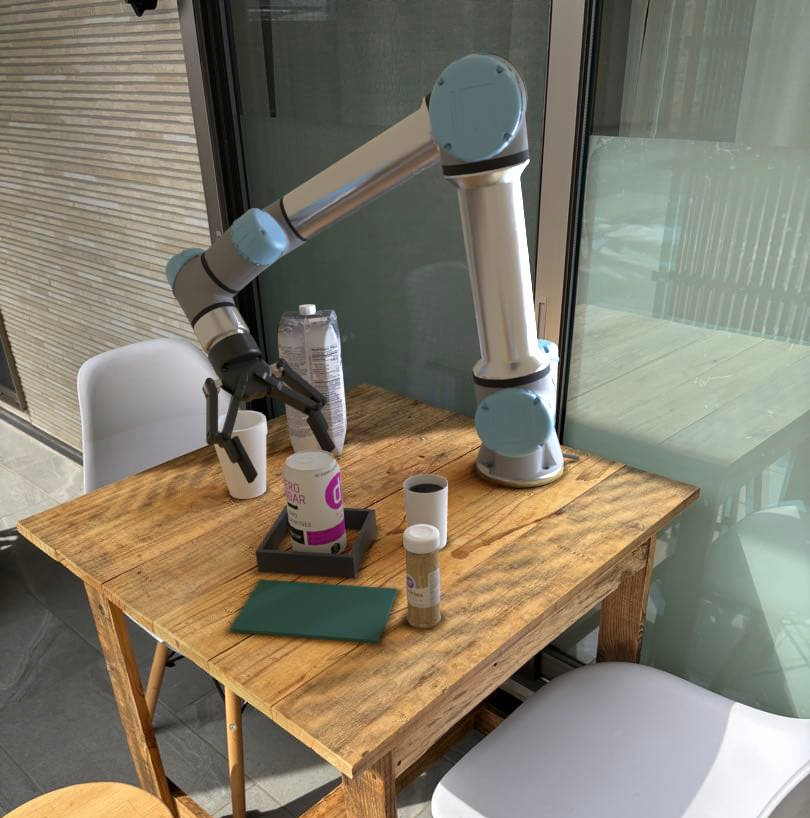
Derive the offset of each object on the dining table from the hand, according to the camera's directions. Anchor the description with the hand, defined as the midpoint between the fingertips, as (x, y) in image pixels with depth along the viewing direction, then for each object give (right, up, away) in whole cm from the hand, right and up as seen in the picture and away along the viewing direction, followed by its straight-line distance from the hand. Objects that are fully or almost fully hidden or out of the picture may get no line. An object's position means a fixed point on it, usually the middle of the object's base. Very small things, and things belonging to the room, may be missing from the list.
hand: (293, 465), depth 126 cm
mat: (+5, -21, -11) cm, 24 cm away
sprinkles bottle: (+19, -22, -14) cm, 32 cm away
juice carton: (+1, +6, +35) cm, 36 cm away
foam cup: (-11, -3, +22) cm, 24 cm away
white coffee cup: (+20, -12, +4) cm, 24 cm away
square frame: (+4, -13, +3) cm, 13 cm away
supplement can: (+4, -13, +3) cm, 14 cm away
